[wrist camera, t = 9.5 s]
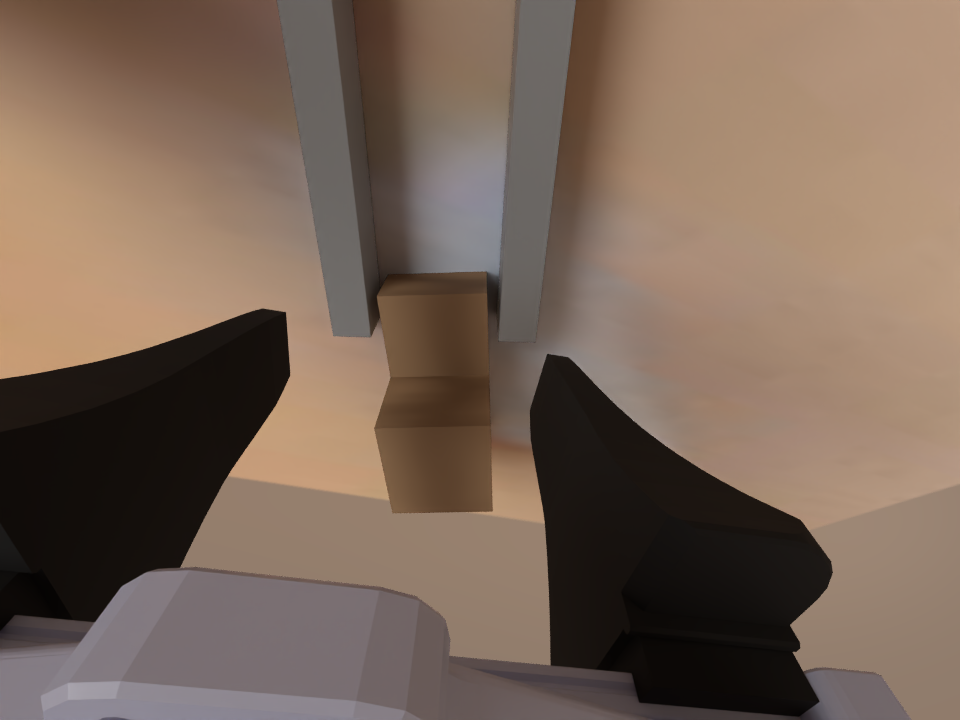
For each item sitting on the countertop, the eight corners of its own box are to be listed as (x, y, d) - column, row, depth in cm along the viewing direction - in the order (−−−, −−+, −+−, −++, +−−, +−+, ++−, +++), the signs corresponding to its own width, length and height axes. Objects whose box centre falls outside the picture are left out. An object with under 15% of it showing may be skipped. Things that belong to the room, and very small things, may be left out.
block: (411, 425, 24) (392, 513, 19) (388, 274, 19) (355, 338, 14) (490, 423, 24) (492, 511, 19) (486, 271, 19) (488, 334, 14)
